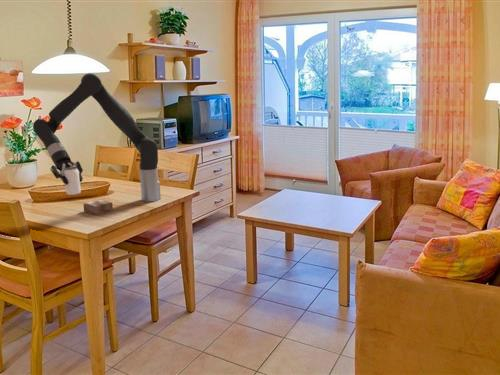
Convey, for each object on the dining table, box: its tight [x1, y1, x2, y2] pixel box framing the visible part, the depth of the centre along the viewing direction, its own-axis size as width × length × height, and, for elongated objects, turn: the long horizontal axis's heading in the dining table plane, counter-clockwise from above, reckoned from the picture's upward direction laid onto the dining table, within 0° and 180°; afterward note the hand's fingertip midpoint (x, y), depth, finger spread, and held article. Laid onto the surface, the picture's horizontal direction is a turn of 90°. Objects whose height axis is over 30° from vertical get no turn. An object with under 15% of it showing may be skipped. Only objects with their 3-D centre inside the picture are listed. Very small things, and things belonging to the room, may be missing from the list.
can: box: [64, 166, 82, 196], centre depth 224 cm, size 6×6×12 cm
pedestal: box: [83, 199, 114, 216], centre depth 240 cm, size 10×10×4 cm
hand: (74, 182), depth 223 cm, fingers closed on can, 6 cm apart
